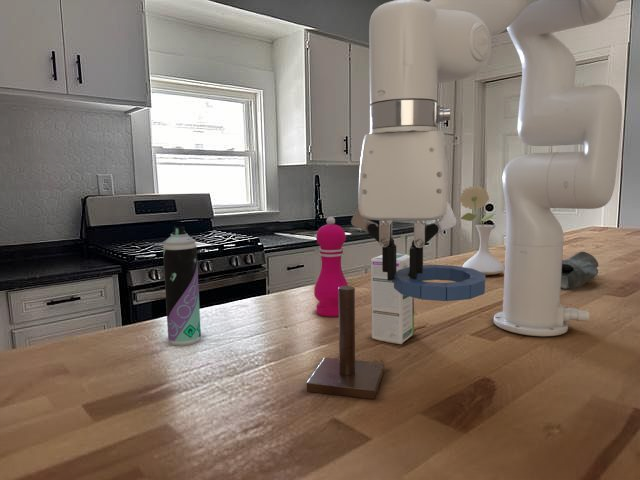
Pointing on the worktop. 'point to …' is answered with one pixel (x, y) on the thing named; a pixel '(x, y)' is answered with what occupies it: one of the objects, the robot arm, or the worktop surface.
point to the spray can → (181, 288)
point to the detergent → (578, 270)
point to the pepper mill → (330, 268)
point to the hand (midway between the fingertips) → (402, 277)
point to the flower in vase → (480, 232)
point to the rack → (346, 360)
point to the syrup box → (390, 304)
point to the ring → (463, 288)
